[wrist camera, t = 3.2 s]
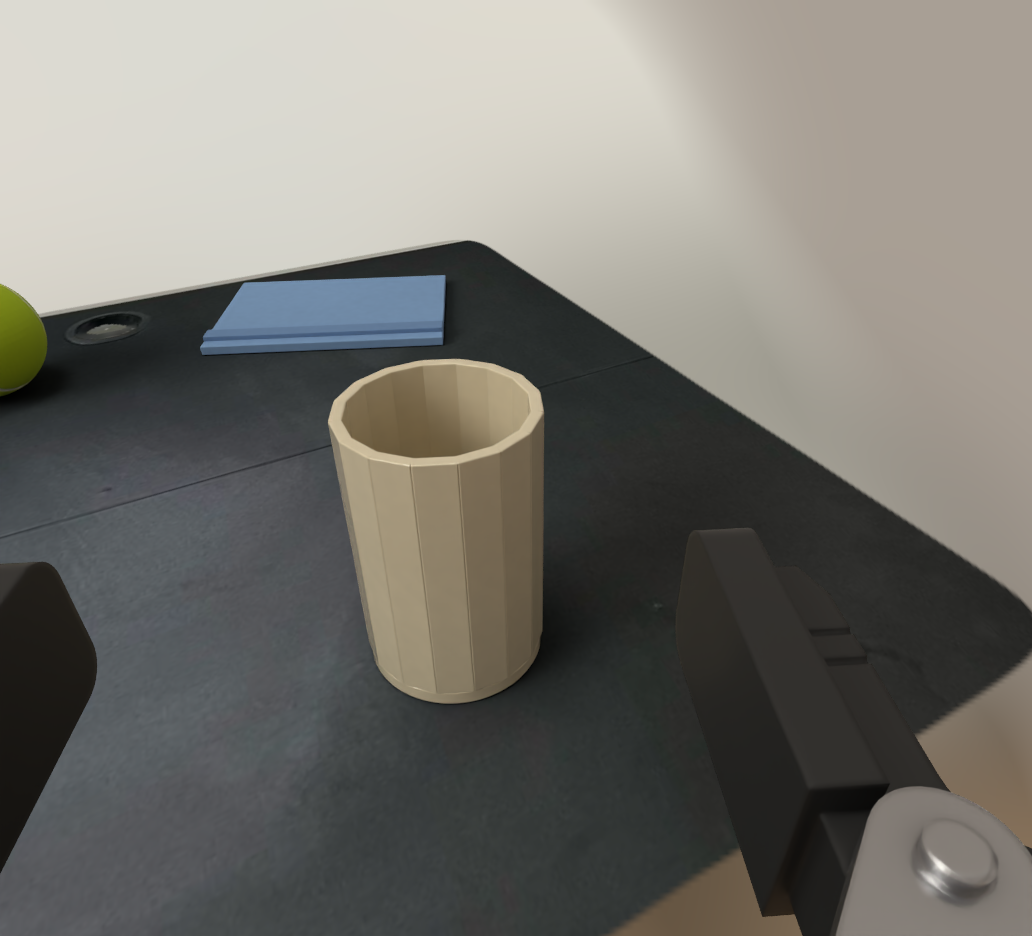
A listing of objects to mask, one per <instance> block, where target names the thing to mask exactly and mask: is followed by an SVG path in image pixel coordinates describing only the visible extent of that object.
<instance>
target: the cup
mask: <svg viewBox="0 0 1032 936" xmlns="http://www.w3.org/2000/svg"><path fill="white" fill-rule="evenodd" d="M328 426H329V431H330V436H331V441H332V447H333V452H334V457H335V463H336V468H337V473H338V479H339V484H340V489H341V494H342V500H343V505H344V510H345V516H346V521H347V526H348V532H349V537H350V542H351V547H352V553H353V558H354V563H355V569H356V574H357V579H358V585H359V590H360V595H361V600H362V606H363V611H364V616H365V622H366V627H367V632H368V637H369V642H370V644H371V647H372V651H373V656H374V659H375V662H376V664H377V666H378V668H379V670H380V672H381V673H382V674H383V675H384V677H385V678H386V679H387V680H388V681H389V682H390V683H391V684H392V685H393V686H395V687H396V688H398V689H399V690H401V691H402V692H404V693H406V694H408V695H410V696H412V697H415V698H418V699H421V700H425V701H429V702H434V703H444V704H457V703H466V702H472V701H476V700H480V699H483V698H486V697H489V696H492V695H494V694H496V693H498V692H500V691H503V690H504V689H506V688H507V687H509V686H510V685H512V684H513V683H514V682H516V681H517V680H518V679H519V678H521V676H522V675H523V674H524V673H525V672H526V671H527V670H528V669H529V667H530V666H531V664H532V663H533V661H534V659H535V657H536V655H537V653H538V650H539V647H540V642H541V633H542V629H543V487H544V409H543V404H542V399H541V394H540V392H539V390H538V389H537V388H536V387H535V386H533V385H532V384H531V383H530V382H529V381H528V380H527V379H526V378H525V377H524V376H522V375H521V374H518V373H516V372H513V371H511V370H508V369H505V368H503V367H500V366H498V365H495V364H492V363H484V362H477V361H470V360H463V359H443V360H422V361H416V362H411V363H407V364H402V365H398V366H393V367H389V368H385V369H382V370H380V371H378V372H376V373H374V374H371V375H369V376H367V377H365V378H363V379H360V380H358V381H356V382H355V383H353V384H352V385H351V386H350V387H349V388H347V389H346V390H345V391H344V392H343V393H342V394H341V395H340V396H339V397H338V398H336V399H335V401H334V403H333V406H332V410H331V413H330V416H329V420H328Z"/></svg>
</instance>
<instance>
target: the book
mask: <svg viewBox="0 0 1032 936" xmlns="http://www.w3.org/2000/svg"><path fill="white" fill-rule="evenodd" d="M445 290H446V277H445V275H440V276H414V277H387V278H361V279H334V280H308V281H281V282H255V283H244V284H243V285H242V287H241V288H240V290H239V291H238V293H237V294H236V296H235V297H234V299H233V300H232V301H231V303H230V304H229V306H228V307H227V309H226V310H225V312H224V313H223V315H222V316H221V318H220V319H219V320H218V322H217V323H216V325H215V326H214V328H213V329H212V330H207V332H206V333H205V335H204V336H203V340H204V342H203V344H202V345H201V347H200V349H201V352H202V355H215V354H239V353H262V352H286V351H310V350H334V349H358V348H382V347H405V346H429V345H443V337H444V313H445Z"/></svg>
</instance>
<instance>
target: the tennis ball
mask: <svg viewBox="0 0 1032 936" xmlns="http://www.w3.org/2000/svg"><path fill="white" fill-rule="evenodd" d="M46 352H47V337H46V332H45V328H44V325H43V323H42V321H41V319H40V317H39V315H38V314H37V312H36V311H35V310H34V308H33V307H32V306H31V305H30V304H29V303H28V302H27V301H26V300H25V299H24V298H23V297H22V296H20V295H19V294H18V293H16V292H15V291H13V290H12V289H10V288H8V287H6V286H4V285H2V284H0V396H4V395H7V394H10V393H12V392H15V391H17V390H19V389H20V388H22V387H24V386H25V385H26V384H28V383H29V382H30V381H31V380H32V379H33V378H34V377H35V376H36V375H37V373H38V372H39V370H40V369H41V367H42V365H43V363H44V360H45V357H46Z"/></svg>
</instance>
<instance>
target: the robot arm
mask: <svg viewBox="0 0 1032 936" xmlns="http://www.w3.org/2000/svg"><path fill="white" fill-rule="evenodd" d="M675 632H676V643H677V650H678V655H679V659H680V663H681V666H682V669H683V672H684V675H685V678H686V682H687V685H688V688H689V691H690V694H691V697H692V700H693V703H694V706H695V709H696V712H697V716H698V719H699V722H700V725H701V728H702V731H703V734H704V737H705V740H706V743H707V747H708V750H709V753H710V756H711V759H712V762H713V765H714V768H715V771H716V774H717V778H718V781H719V784H720V787H721V790H722V793H723V796H724V799H725V802H726V805H727V808H728V812H729V815H730V818H731V821H732V824H733V827H734V830H735V833H736V836H737V839H738V843H739V846H740V849H741V852H742V855H743V858H744V861H745V864H746V867H747V870H748V873H749V877H750V880H751V883H752V886H753V889H754V892H755V895H756V898H757V901H758V904H759V908H760V911H761V914H762V916H763V917H766V916H778V915H791V914H795V916H796V919H797V921H798V924H799V927H800V930H801V932H802V935H803V936H1032V849H1031V848H1029V847H1026V846H1024V845H1023V844H1022V842H1021V841H1020V840H1019V838H1018V837H1017V836H1016V835H1015V834H1014V833H1013V832H1012V831H1011V830H1010V829H1009V828H1008V827H1007V826H1006V825H1004V824H1003V823H1002V822H1001V821H1000V820H999V819H997V818H996V817H995V816H994V815H993V814H991V813H990V812H988V811H986V810H985V809H983V808H982V807H980V806H979V805H977V804H975V803H973V802H971V801H970V800H968V799H966V798H964V797H961V796H959V795H956V794H954V793H951V792H950V791H949V789H948V788H947V787H946V785H945V784H944V783H943V781H942V780H941V778H940V777H939V775H938V774H937V772H936V770H935V769H934V767H933V765H932V764H931V762H930V760H929V759H928V757H927V755H926V754H925V752H924V750H923V749H922V747H921V745H920V744H919V742H918V740H917V739H916V737H915V735H914V734H913V732H912V730H911V729H910V727H909V725H908V724H907V722H906V720H905V719H904V717H903V715H902V714H901V712H900V710H899V709H898V707H897V705H896V704H895V702H894V700H893V699H892V697H891V695H890V694H889V692H888V690H887V689H886V687H885V685H884V684H883V682H882V680H881V679H880V677H879V675H878V674H877V672H876V670H875V669H874V667H873V665H872V664H868V662H867V655H866V654H865V652H864V650H863V649H862V647H861V645H860V644H859V642H858V640H857V639H856V637H855V635H854V634H853V635H851V633H850V627H849V625H848V624H847V622H846V620H845V619H844V617H843V615H842V614H841V612H840V610H839V609H838V607H837V605H836V604H835V602H834V600H833V599H832V597H831V595H830V594H829V593H828V592H827V591H826V590H825V589H823V588H822V587H821V586H820V585H819V584H817V583H816V582H815V581H814V580H813V579H811V578H810V577H809V576H808V575H807V574H806V573H804V572H803V571H802V570H801V569H800V568H798V567H797V566H781V567H775V566H774V565H773V563H772V561H771V559H770V557H769V555H768V553H767V551H766V550H765V548H764V546H763V544H762V542H761V540H760V538H759V537H758V535H757V533H756V532H755V531H754V530H753V529H751V528H735V529H715V530H695V531H692V532H691V533H690V535H689V537H688V541H687V546H686V552H685V559H684V565H683V572H682V578H681V584H680V591H679V597H678V603H677V610H676V619H675ZM96 674H97V657H96V652H95V648H94V645H93V643H92V641H91V639H90V637H89V634H88V632H87V630H86V628H85V626H84V624H83V622H82V620H81V618H80V616H79V614H78V612H77V610H76V608H75V606H74V604H73V602H72V600H71V598H70V596H69V594H68V591H67V589H66V587H65V585H64V583H63V581H62V579H61V577H60V575H59V573H58V572H57V570H56V569H55V568H54V567H53V566H52V565H50V564H49V563H46V562H28V563H8V564H0V873H1V871H2V869H3V867H4V865H5V863H6V861H7V859H8V857H9V855H10V853H11V851H12V849H13V847H14V845H15V843H16V841H17V840H18V838H19V836H20V834H21V832H22V830H23V828H24V826H25V824H26V822H27V820H28V818H29V816H30V814H31V812H32V810H33V808H34V806H35V804H36V802H37V800H38V798H39V796H40V794H41V792H42V791H43V789H44V787H45V785H46V783H47V781H48V779H49V777H50V775H51V773H52V771H53V769H54V767H55V765H56V763H57V761H58V759H59V757H60V755H61V753H62V751H63V749H64V747H65V745H66V743H67V741H68V740H69V738H70V736H71V734H72V732H73V730H74V728H75V726H76V724H77V722H78V720H79V718H80V716H81V714H82V712H83V710H84V708H85V706H86V704H87V702H88V700H89V698H90V696H91V694H92V691H93V688H94V685H95V681H96Z"/></svg>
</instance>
